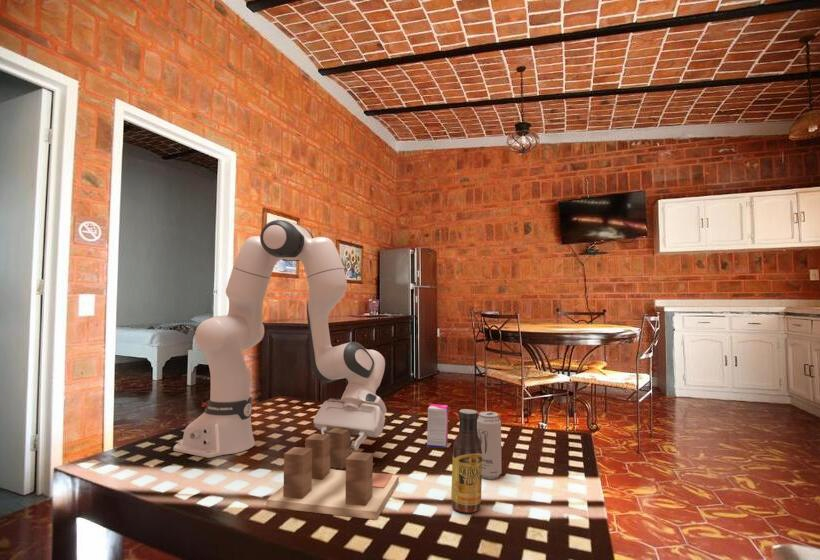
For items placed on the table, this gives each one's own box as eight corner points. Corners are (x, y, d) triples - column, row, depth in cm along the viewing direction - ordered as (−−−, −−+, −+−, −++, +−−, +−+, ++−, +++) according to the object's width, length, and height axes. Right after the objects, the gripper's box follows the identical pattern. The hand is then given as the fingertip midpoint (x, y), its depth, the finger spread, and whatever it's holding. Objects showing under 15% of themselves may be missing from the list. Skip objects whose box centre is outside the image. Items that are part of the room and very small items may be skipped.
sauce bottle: (458, 516, 85) (457, 415, 86) (446, 502, 91) (446, 408, 92) (488, 512, 86) (487, 413, 88) (474, 498, 92) (474, 406, 94)
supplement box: (446, 448, 125) (446, 409, 125) (426, 447, 126) (426, 407, 127) (448, 442, 130) (448, 404, 131) (429, 440, 132) (429, 403, 132)
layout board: (266, 506, 89) (267, 455, 89) (305, 473, 106) (306, 430, 107) (376, 519, 83) (376, 465, 84) (398, 482, 101) (398, 437, 102)
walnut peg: (327, 466, 110) (327, 431, 111) (336, 461, 114) (336, 427, 115) (341, 469, 109) (342, 433, 109) (350, 463, 113) (350, 429, 113)
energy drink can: (471, 474, 106) (471, 413, 106) (487, 468, 109) (487, 409, 110) (491, 482, 101) (490, 418, 102) (506, 475, 105) (506, 414, 106)
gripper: (321, 391, 123) (300, 435, 113) (385, 397, 115) (367, 445, 106) (330, 404, 127) (310, 447, 117) (392, 410, 119) (376, 457, 110)
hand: (338, 446), depth 111 cm, fingers open, 8 cm apart
